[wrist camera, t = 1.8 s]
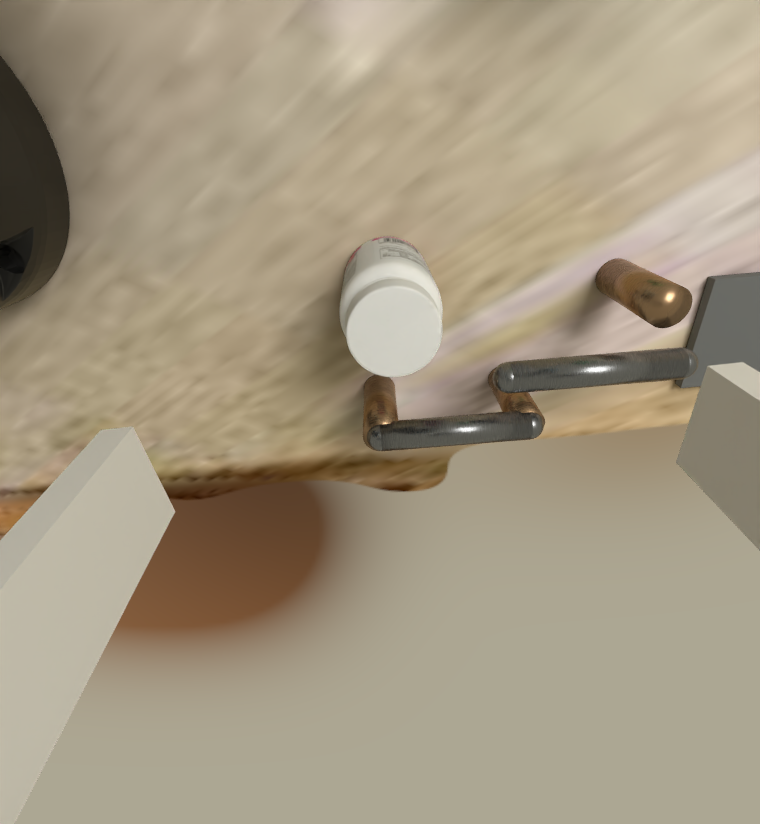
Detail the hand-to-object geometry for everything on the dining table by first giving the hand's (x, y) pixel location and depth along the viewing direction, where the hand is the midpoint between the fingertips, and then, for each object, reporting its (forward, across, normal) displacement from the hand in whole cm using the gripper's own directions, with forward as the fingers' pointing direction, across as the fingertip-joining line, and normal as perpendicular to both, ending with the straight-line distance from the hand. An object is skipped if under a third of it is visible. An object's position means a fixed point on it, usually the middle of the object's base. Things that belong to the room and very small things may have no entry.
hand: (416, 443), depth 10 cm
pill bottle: (+17, 0, -1) cm, 17 cm away
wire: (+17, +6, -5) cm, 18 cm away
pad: (+16, +22, -6) cm, 28 cm away
